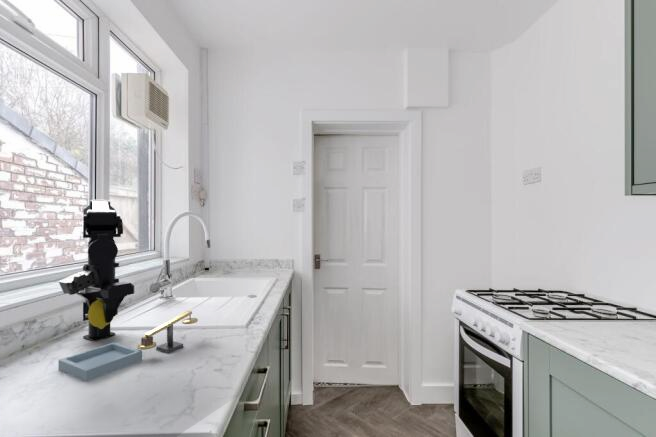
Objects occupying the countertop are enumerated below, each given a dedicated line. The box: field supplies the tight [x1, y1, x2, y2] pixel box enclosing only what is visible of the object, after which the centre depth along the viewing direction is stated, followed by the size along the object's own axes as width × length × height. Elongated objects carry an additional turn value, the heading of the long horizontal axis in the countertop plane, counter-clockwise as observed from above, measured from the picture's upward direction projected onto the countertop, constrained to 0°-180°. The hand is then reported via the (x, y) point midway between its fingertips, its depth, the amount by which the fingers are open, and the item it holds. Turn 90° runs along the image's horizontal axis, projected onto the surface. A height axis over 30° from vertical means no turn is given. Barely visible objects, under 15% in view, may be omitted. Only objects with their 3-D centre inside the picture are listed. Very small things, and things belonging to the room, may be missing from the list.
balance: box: [137, 310, 199, 354], centre depth 93 cm, size 5×18×9 cm, turn 152°
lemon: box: [87, 300, 115, 329], centre depth 83 cm, size 6×6×8 cm
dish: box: [57, 341, 143, 383], centre depth 83 cm, size 13×13×2 cm
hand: (101, 320), depth 83 cm, fingers closed on lemon, 5 cm apart
